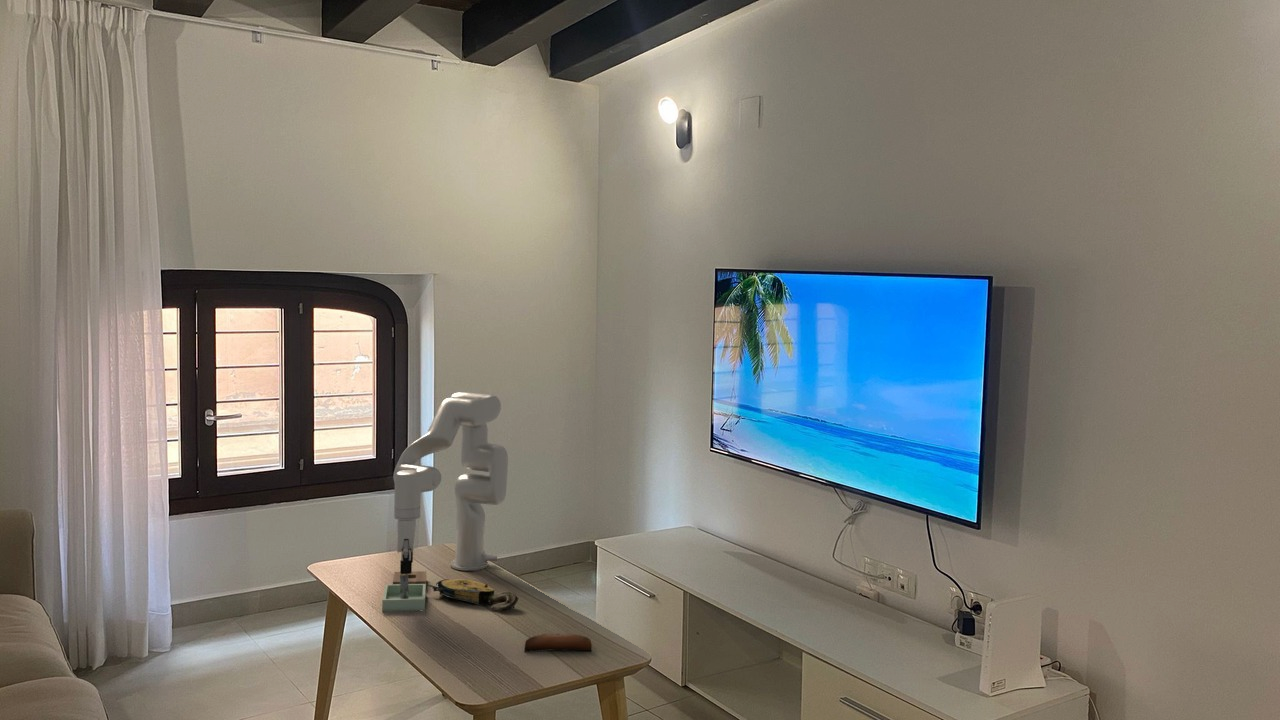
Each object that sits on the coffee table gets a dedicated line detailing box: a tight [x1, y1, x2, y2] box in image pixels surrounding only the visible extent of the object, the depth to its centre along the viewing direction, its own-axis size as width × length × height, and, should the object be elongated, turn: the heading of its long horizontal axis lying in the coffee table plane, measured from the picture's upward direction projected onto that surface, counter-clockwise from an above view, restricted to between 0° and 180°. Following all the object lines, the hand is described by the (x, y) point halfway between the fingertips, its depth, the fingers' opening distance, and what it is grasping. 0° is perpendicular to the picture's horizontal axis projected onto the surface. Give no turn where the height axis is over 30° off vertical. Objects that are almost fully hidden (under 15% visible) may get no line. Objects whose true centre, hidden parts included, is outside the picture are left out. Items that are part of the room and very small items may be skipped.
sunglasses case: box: [523, 633, 593, 653], centre depth 257 cm, size 18×7×7 cm
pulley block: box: [427, 578, 519, 612], centre depth 290 cm, size 14×6×30 cm
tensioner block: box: [392, 570, 427, 585], centre depth 300 cm, size 10×10×3 cm
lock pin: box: [400, 574, 408, 599], centre depth 285 cm, size 2×2×8 cm
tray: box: [381, 583, 427, 613], centre depth 285 cm, size 12×14×4 cm
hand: (406, 567), depth 285 cm, fingers open, 9 cm apart
